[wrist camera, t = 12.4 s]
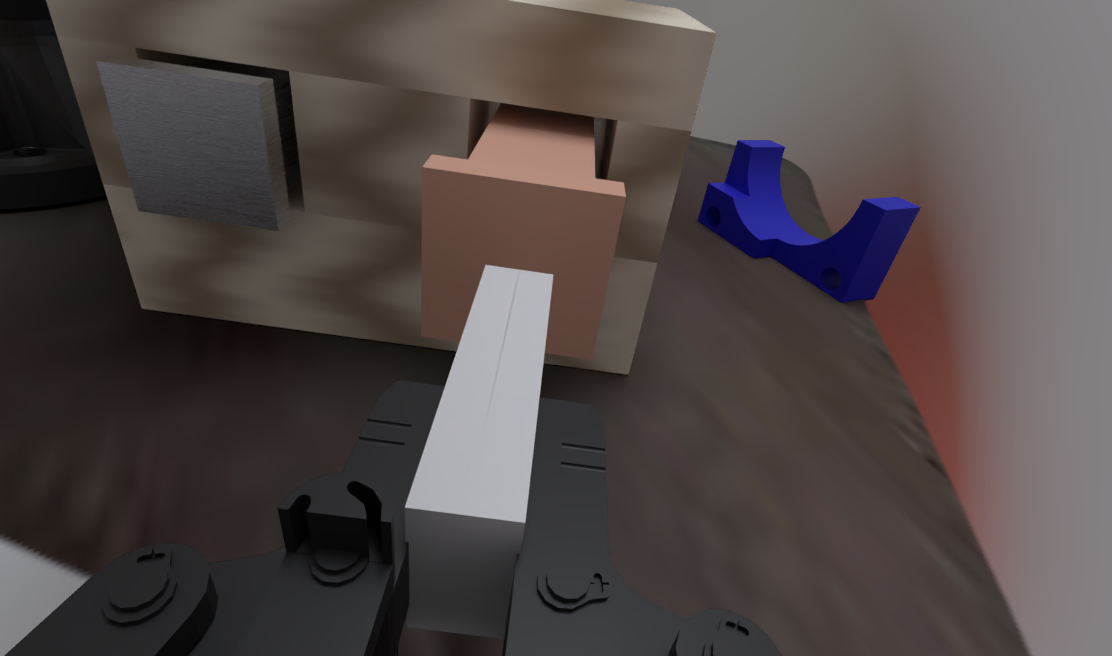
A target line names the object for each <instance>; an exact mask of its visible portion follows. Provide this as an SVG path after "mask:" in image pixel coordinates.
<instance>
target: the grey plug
mask: <svg viewBox="0 0 1112 656" xmlns="http://www.w3.org/2000/svg"><path fill="white" fill-rule="evenodd" d="M96 63H97V67H98V70H99V74H100V77H101V81H102V84H103V88H104V91H105V95H106V98H107V102H108V105H109V109H110V112H111V116H112V120H113V123H114V127H115V130H116V134H117V137H118V141H119V144H120V148H121V151H122V155H123V158H124V162H125V165H126V169H127V173H128V176H129V180H130V183H131V187H132V190H133V194H134V197H135V201H136V204H137V208H138V211H140V212H147V213H154V214H161V215H168V216H175V217H182V218H189V219H196V220H203V221H210V222H218V223H225V224H232V225H239V226H246V227H253V228H260V229H267V230H274V231H279V230H280V229H281V228H283V227H284V226H285V225H286V224H287V223H288V222H289V221H290V220H291V216H290V208H289V200H288V193H287V190H288V189H289V188H290V187H292V186H293V185H294V184H295V183H297V182H298V181H299V180H300V179H301V173H300V164H299V155H298V146H297V137H296V129H295V120H294V111H293V102H292V94H291V85H290V76H289V71H287V70H280V69H274V68H267V67H260V66H254V65H247V64H240V63H234V62H227V61H221V60H214V59H212V60H209V61H205V62H202V63H198V64H195V65H191V66H183V65H177V64H170V63H163V62H157V61H150V60H143V59H137V58H130V57H123V56H116V57H111V58H107V59H102V60H97V61H96Z"/></svg>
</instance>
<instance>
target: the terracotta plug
mask: <svg viewBox="0 0 1112 656" xmlns="http://www.w3.org/2000/svg"><path fill="white" fill-rule="evenodd" d="M625 199H626V193H625V187H624V183H623V182H616V181H610V180H603V179H596V178H595V153H594V119H593V117H592V116H586V115H579V114H572V113H566V112H559V111H552V110H546V109H539V108H532V107H526V106H519V105H513V104H506V103H501V104H500V106H499V107H498V109H497V111H496V112H495V114H494V116H493V118H492V119H491V121H490V123H489V124H488V126H487V128H486V130H485V131H484V133H483V135H482V136H481V138H480V140H479V142H478V143H477V145H476V147H475V148H474V150H473V152H472V154H471V155H470V157H469V159H468V160H467V159H460V158H453V157H446V156H440V155H433V154H432V155H431V156H430V158H429V159H428V160H427V161H426V163H425V164H424V165H423V167H422V292H421V336H423V337H430V338H438V339H445V340H452V341H460V340H461V337H462V334H463V331H464V328H465V325H466V322H467V319H468V316H469V313H470V310H471V307H472V304H473V301H474V298H475V295H476V292H477V289H478V286H479V283H480V280H481V277H482V274H483V271H484V268H485V265H490V266H497V267H504V268H511V269H518V270H525V271H532V272H539V273H546V274H553V283H552V292H551V300H550V309H549V318H548V327H547V336H546V345H545V353H547V354H555V355H562V356H569V357H577V358H584V359H591V360H592V357H593V352H594V347H595V343H596V338H597V333H598V328H599V324H600V319H601V314H602V309H603V304H604V300H605V295H606V290H607V285H608V281H609V276H610V271H611V266H612V261H613V257H614V252H615V247H616V242H617V238H618V233H619V228H620V223H621V218H622V214H623V209H624V204H625Z"/></svg>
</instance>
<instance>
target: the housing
mask: <svg viewBox="0 0 1112 656" xmlns="http://www.w3.org/2000/svg"><path fill="white" fill-rule="evenodd" d="M46 2H47V5H48V8H49V12H50V15H51V18H52V21H53V24H54V28H55V31H56V34H57V37H58V41H59V44H60V47H61V50H62V53H63V57H64V60H65V63H66V66H67V70H68V73H69V76H70V79H71V82H72V86H73V89H74V92H75V95H76V99H77V102H78V105H79V108H80V111H81V115H82V118H83V121H84V124H85V128H86V131H87V134H88V137H89V140H90V144H91V147H92V150H93V153H94V157H95V160H96V163H97V166H98V169H99V173H100V176H101V179H102V182H103V186H104V189H105V192H106V195H107V198H108V202H109V205H110V208H111V211H112V215H113V218H114V221H115V224H116V227H117V231H118V234H119V237H120V240H121V244H122V247H123V250H124V253H125V256H126V260H127V263H128V266H129V269H130V272H131V276H132V279H133V282H134V285H135V289H136V292H137V295H138V298H139V301H140V305H141V308H142V309H148V310H156V311H163V312H170V313H178V314H185V315H192V316H200V317H207V318H214V319H222V320H229V321H236V322H244V323H251V324H259V325H266V326H273V327H281V328H288V329H295V330H303V331H310V332H317V333H325V334H332V335H339V336H347V337H354V338H362V339H369V340H376V341H384V342H391V343H398V344H406V345H413V346H420V347H428V348H435V349H443V350H450V351H457V349H458V346H459V343H460V341H452V340H445V339H438V338H430V337H423V336H421V292H422V167H423V165H424V164H425V163H426V161H427V160H428V159H429V158H430V156H431V155H432V154H433V155H440V156H446V157H453V158H460V159H467V160H468V159H469V157H470V155H471V154H472V152H473V150H474V148H475V147H476V145H477V143H478V142H479V140H480V138H481V136H482V135H483V133H484V131H485V130H486V128H487V126H488V124H489V123H490V121H491V119H492V118H493V116H494V114H495V112H496V111H497V109H498V107H499V106H500V103H506V104H513V105H519V106H526V107H532V108H539V109H546V110H552V111H559V112H566V113H572V114H579V115H586V116H592V117H599V118H602V122H601V128H600V134H599V139H598V145H597V151H596V157H595V178H596V179H603V180H610V181H616V182H623V183H624V187H625V193H626V199H625V204H624V209H623V214H622V218H621V223H620V228H619V233H618V238H617V242H616V247H615V252H614V257H613V261H612V266H611V271H610V276H609V281H608V285H607V290H606V295H605V300H604V304H603V309H602V314H601V319H600V324H599V328H598V333H597V338H596V343H595V347H594V352H593V357H592V360H591V359H584V358H577V357H569V356H562V355H555V354H547V353H544V362H543V363H546V364H553V365H560V366H568V367H575V368H582V369H590V370H597V371H604V372H612V373H619V374H627V375H629V371H630V367H631V363H632V359H633V356H634V352H635V348H636V344H637V340H638V336H639V332H640V328H641V324H642V321H643V317H644V313H645V309H646V305H647V301H648V297H649V293H650V290H651V286H652V282H653V278H654V274H655V270H656V266H657V262H658V259H659V255H660V251H661V247H662V243H663V239H664V235H665V231H666V228H667V224H668V220H669V216H670V212H671V208H672V204H673V200H674V196H675V193H676V189H677V185H678V181H679V177H680V173H681V169H682V165H683V162H684V158H685V154H686V150H687V146H688V142H689V138H690V134H691V130H692V127H693V123H694V119H695V115H696V111H697V107H698V103H699V99H700V95H701V91H702V87H703V84H704V80H705V76H706V72H707V68H708V65H709V60H710V57H711V53H712V49H713V45H714V41H715V37H716V32H714V31H713V30H711V29H709V28H708V27H706V26H705V25H703V24H702V23H700V22H698V21H697V20H695V19H694V18H692V17H690V16H688V15H687V14H686V13H684V12H682V11H681V10H679V9H675V8H668V7H662V6H656V5H649V4H643V3H636V2H630V1H624V0H46ZM116 56H123V57H130V58H137V59H143V60H150V61H157V62H163V63H170V64H177V65H183V66H191V65H195V64H198V63H202V62H205V61H209V60H212V59H214V60H221V61H227V62H234V63H240V64H247V65H254V66H260V67H267V68H274V69H280V70H287V71H289V76H290V85H291V94H292V102H293V111H294V120H295V129H296V137H297V146H298V155H299V164H300V173H301V179H300V180H299V181H298V182H297V183H295V184H294V185H293V186H292V187H290V188H289V189H288V190H287V193H288V200H289V208H290V216H291V220H290V221H289V222H288V223H287V224H286V225H285V226H284V227H283V228H281V229H280V230H279V231H274V230H267V229H260V228H253V227H246V226H239V225H232V224H225V223H218V222H210V221H203V220H196V219H189V218H182V217H175V216H168V215H161V214H154V213H147V212H140V211H138V208H137V204H136V201H135V197H134V194H133V190H132V187H131V183H130V180H129V176H128V173H127V169H126V165H125V162H124V158H123V155H122V151H121V148H120V144H119V141H118V137H117V134H116V130H115V127H114V123H113V120H112V116H111V112H110V109H109V105H108V102H107V98H106V95H105V91H104V88H103V84H102V81H101V77H100V74H99V70H98V67H97V63H96V61H97V60H102V59H107V58H111V57H116Z"/></svg>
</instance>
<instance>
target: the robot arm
mask: <svg viewBox="0 0 1112 656" xmlns="http://www.w3.org/2000/svg"><path fill="white" fill-rule="evenodd" d="M105 195H106V192H105V189H104V186H103V182H102V179H101V176H100V173H99V169H98V166H97V163H96V160H95V157H94V153H93V150H92V147H91V144H90V140H89V137H88V134H87V131H86V128H85V124H84V121H83V118H82V115H81V111H80V108H79V105H78V102H77V99H76V95H75V92H74V89H73V86H72V82H71V79H70V76H69V73H68V70H67V66H66V63H65V60H64V57H63V53H62V50H61V47H60V44H59V41H58V37H57V34H56V31H55V28H54V24H53V21H52V18H51V15H50V12H49V8H48V5H47V2H46V0H0V210H1V209H17V208H30V207H39V206H48V205H56V204H63V203H70V202H76V201H81V200H87V199H92V198H97V197H101V196H105ZM552 283H553V274H546V273H539V272H532V271H525V270H518V269H511V268H504V267H497V266H490V265H485V268H484V271H483V274H482V277H481V280H480V283H479V286H478V289H477V292H476V295H475V298H474V301H473V304H472V307H471V310H470V313H469V316H468V319H467V322H466V325H465V328H464V331H463V334H462V337H461V340H460V343H459V346H458V349H457V352H456V355H455V358H454V361H453V364H452V367H451V370H450V373H449V376H448V379H447V382H446V385H445V386H440V385H433V384H425V383H418V382H410V381H403V380H398V381H397V382H396V383H394V384H393V385H392V386H391V387H390V388H388V389H387V390H386V391H385V392H384V393H382V394H381V395H380V396H379V397H378V399H377V401H376V403H375V405H374V407H373V409H372V411H371V413H370V415H369V418H368V422H367V423H366V424H365V426H364V428H363V430H362V432H361V434H360V436H359V441H358V442H357V443H356V445H355V447H354V449H353V451H352V453H351V455H350V457H349V460H348V462H347V464H346V466H345V468H344V470H343V472H342V473H331V474H327V475H324V476H321V477H317V478H314V479H311V480H309V481H307V482H306V483H304V484H303V485H301V486H300V487H298V488H296V489H295V490H293V491H292V492H291V493H290V494H289V495H288V496H287V498H286V499H285V500H284V501H283V502H282V504H281V505H280V506H279V507H278V512H279V517H280V522H281V527H282V532H283V537H284V542H285V546H284V547H282V548H280V549H278V550H276V551H273V552H269V553H265V554H261V555H257V556H251V557H245V558H239V559H233V560H227V561H221V562H215V563H209V564H207V563H206V561H205V558H204V556H203V555H202V554H200V553H199V552H197V551H196V550H195V549H193V548H192V547H190V546H187V545H181V544H175V543H162V544H155V545H149V546H144V547H141V548H139V549H136V550H134V551H132V552H129V553H127V554H124V555H122V556H120V557H118V558H116V559H115V560H113V561H112V562H111V563H109V564H108V565H106V566H105V567H104V568H102V569H101V570H99V571H98V572H97V573H95V574H94V575H93V576H92V577H91V578H90V579H89V580H87V581H86V582H85V583H84V584H83V585H82V586H81V587H80V588H79V589H77V590H76V591H75V592H74V593H73V594H72V595H71V596H70V597H69V598H68V599H66V600H65V601H64V602H63V603H62V604H61V605H60V606H59V607H58V608H57V609H55V610H54V611H53V612H52V613H51V614H50V615H49V616H48V617H47V618H46V619H44V620H43V621H42V622H41V623H40V624H39V625H38V626H37V627H36V628H34V629H33V630H32V631H31V632H30V633H29V634H28V635H27V636H26V637H24V638H23V639H22V640H21V641H20V642H19V643H18V644H17V645H16V646H15V647H14V648H12V649H11V650H10V651H9V652H8V653H7V654H6V655H5V656H398V643H399V639H400V636H401V632H402V629H403V625H404V621H405V618H406V614H407V627H410V628H419V629H427V630H435V631H443V632H451V633H460V634H468V635H476V636H484V637H493V638H501V639H504V646H503V654H502V656H782V655H781V654H780V652H779V651H778V649H777V648H776V646H775V645H774V643H773V642H772V640H771V639H770V637H769V636H768V635H767V634H766V633H765V632H764V631H762V630H761V629H760V628H759V627H758V626H757V625H755V624H754V623H753V622H752V621H751V620H750V619H747V618H745V617H743V616H741V615H739V614H736V613H734V612H732V611H730V610H720V609H707V610H704V611H701V612H698V613H695V614H692V615H691V617H690V618H689V619H686V618H684V617H681V616H679V615H677V614H675V613H673V612H671V611H668V610H666V609H664V608H662V607H660V606H658V605H655V604H653V603H651V602H650V601H648V600H646V599H644V598H643V597H641V596H639V595H638V594H637V593H635V592H634V591H633V590H632V589H631V588H630V587H629V586H628V585H626V584H625V582H624V581H623V580H622V578H621V577H620V576H619V574H618V573H617V571H616V569H615V567H614V565H613V563H612V560H611V558H610V552H609V546H608V520H607V487H606V472H605V470H606V455H605V425H604V424H603V422H602V420H601V418H600V417H599V415H598V413H597V411H596V409H595V408H594V406H593V404H586V403H579V402H571V401H564V400H557V399H549V398H542V397H540V389H541V380H542V371H543V362H544V353H545V345H546V336H547V327H548V318H549V309H550V300H551V292H552Z"/></svg>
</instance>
